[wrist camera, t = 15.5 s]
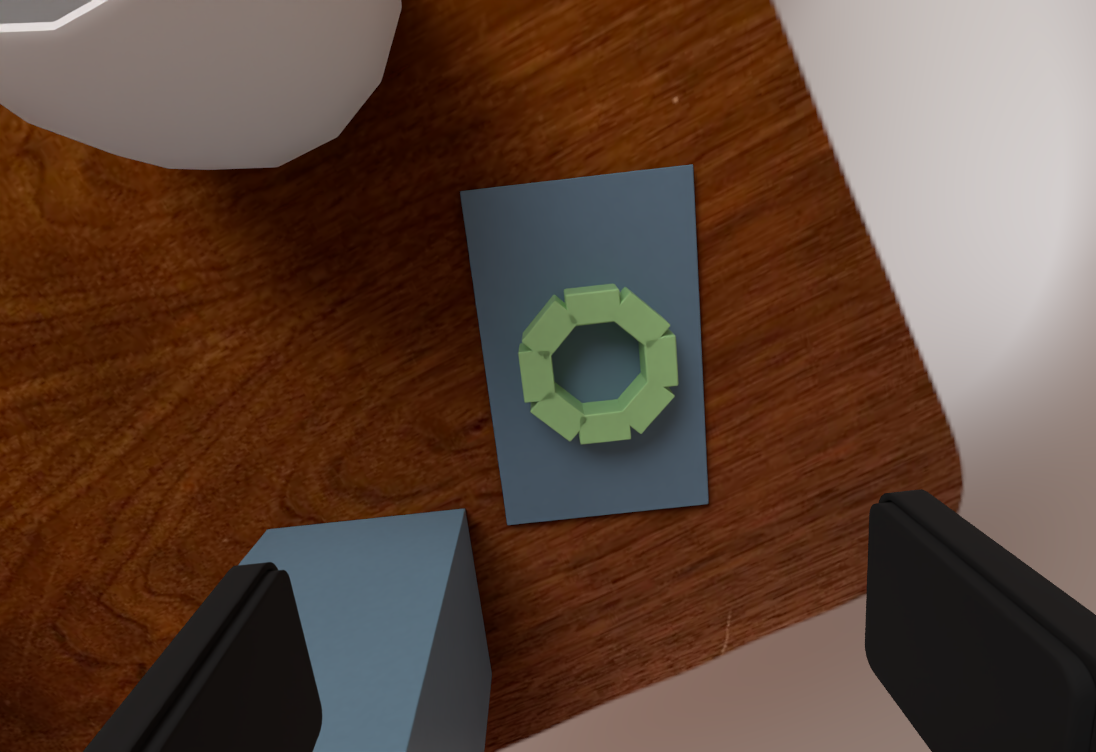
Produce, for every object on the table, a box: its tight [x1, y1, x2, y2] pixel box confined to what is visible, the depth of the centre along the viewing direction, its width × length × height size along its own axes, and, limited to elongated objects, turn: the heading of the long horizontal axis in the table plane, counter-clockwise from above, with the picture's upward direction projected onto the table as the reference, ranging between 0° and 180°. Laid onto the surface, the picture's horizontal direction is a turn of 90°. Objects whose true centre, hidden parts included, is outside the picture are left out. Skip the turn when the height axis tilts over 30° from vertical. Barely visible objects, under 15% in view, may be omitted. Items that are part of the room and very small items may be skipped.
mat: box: [460, 165, 709, 525], centre depth 29 cm, size 10×16×1 cm, turn 6°
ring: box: [518, 284, 679, 444], centre depth 28 cm, size 7×7×2 cm
